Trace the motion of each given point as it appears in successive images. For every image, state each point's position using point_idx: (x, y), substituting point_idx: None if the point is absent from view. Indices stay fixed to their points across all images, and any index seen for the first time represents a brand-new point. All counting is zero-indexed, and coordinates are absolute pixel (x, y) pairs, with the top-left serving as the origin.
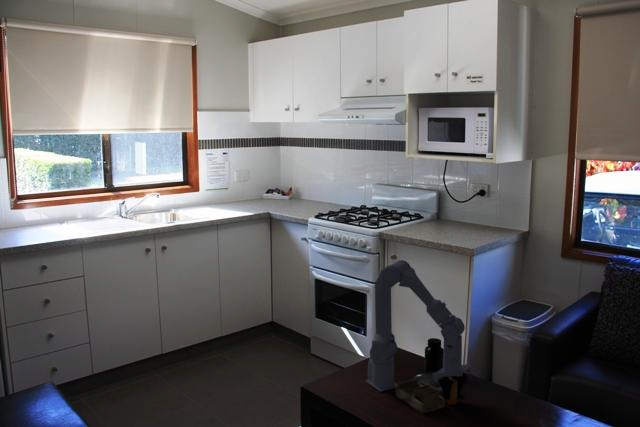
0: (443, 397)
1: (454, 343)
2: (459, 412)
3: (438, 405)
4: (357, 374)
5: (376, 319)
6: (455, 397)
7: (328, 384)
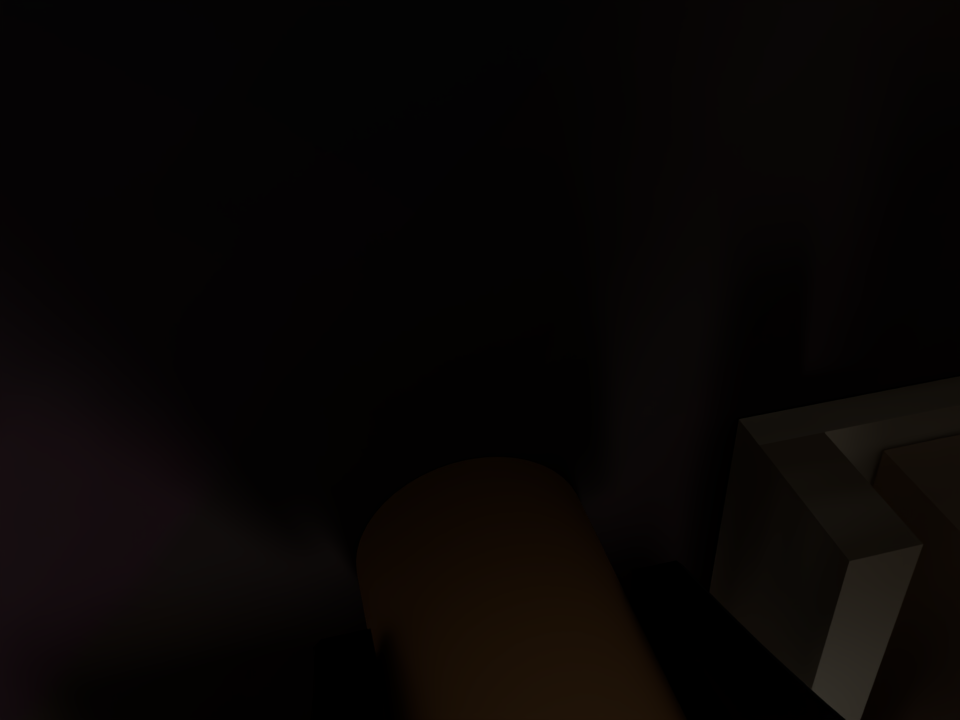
0: None
1: None
2: (654, 102)
3: (904, 455)
4: None
5: None
6: (508, 591)
7: None
